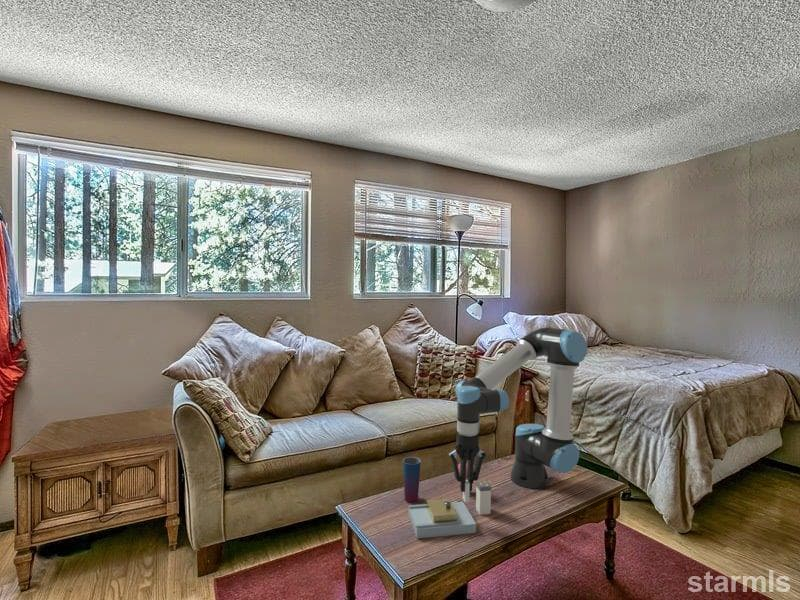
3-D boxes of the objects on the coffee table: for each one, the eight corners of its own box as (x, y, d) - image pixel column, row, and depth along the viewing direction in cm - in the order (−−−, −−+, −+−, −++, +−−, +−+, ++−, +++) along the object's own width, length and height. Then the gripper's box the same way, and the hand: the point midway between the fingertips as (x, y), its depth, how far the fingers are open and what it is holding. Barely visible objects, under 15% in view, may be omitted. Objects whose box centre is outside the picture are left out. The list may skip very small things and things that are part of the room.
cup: (406, 505, 153) (407, 465, 152) (399, 496, 159) (399, 458, 158) (423, 501, 155) (423, 462, 155) (415, 493, 162) (416, 455, 161)
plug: (486, 507, 152) (486, 480, 151) (490, 513, 148) (491, 485, 147) (475, 508, 151) (476, 481, 151) (479, 514, 147) (480, 486, 147)
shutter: (448, 505, 147) (448, 495, 147) (456, 521, 137) (457, 510, 137) (426, 507, 146) (426, 496, 145) (433, 523, 136) (433, 512, 136)
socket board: (462, 509, 150) (462, 500, 150) (476, 532, 136) (476, 522, 136) (408, 514, 147) (408, 504, 147) (416, 538, 133) (416, 527, 133)
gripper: (481, 428, 147) (479, 493, 147) (446, 429, 144) (444, 495, 145) (490, 435, 139) (487, 504, 140) (452, 437, 137) (450, 507, 138)
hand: (465, 500), depth 143 cm, fingers closed
